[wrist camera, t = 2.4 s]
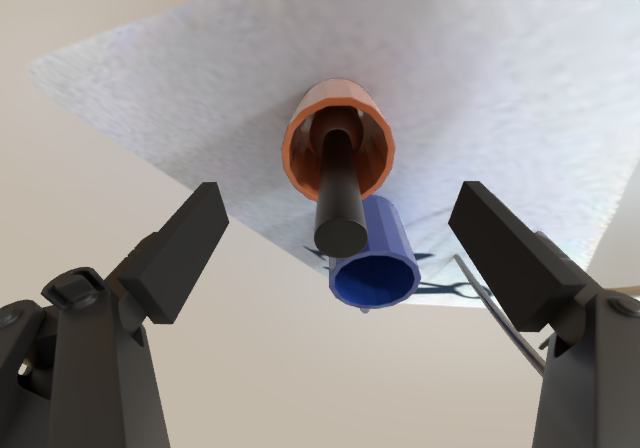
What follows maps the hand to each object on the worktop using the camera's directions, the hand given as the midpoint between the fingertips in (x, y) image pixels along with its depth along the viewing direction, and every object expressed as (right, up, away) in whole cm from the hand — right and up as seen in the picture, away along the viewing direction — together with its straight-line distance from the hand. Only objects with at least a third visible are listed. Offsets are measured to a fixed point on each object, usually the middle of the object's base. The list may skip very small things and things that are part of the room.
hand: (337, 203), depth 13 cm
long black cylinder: (+1, +9, +11) cm, 14 cm away
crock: (+1, +9, +11) cm, 15 cm away
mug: (+5, -3, +20) cm, 21 cm away
